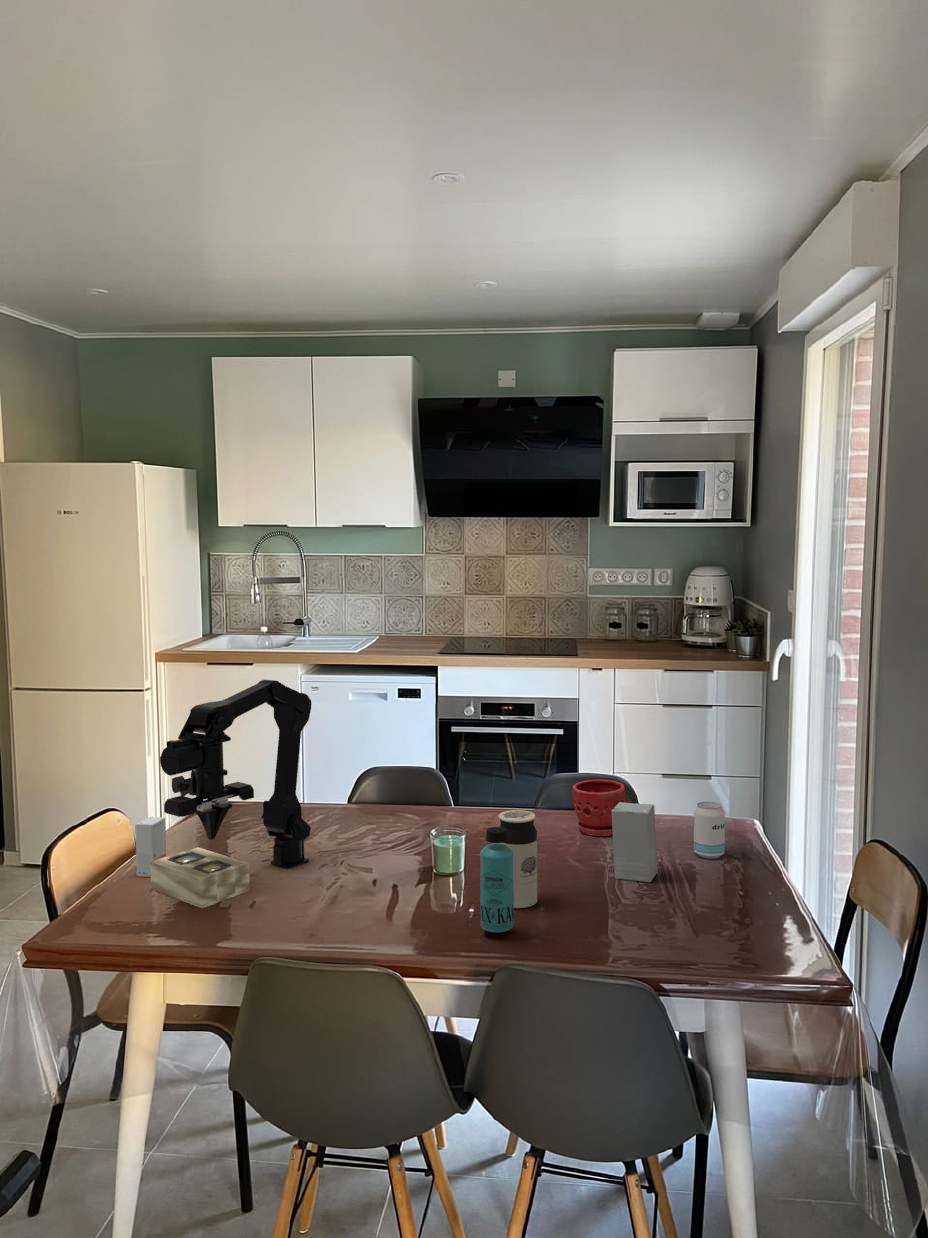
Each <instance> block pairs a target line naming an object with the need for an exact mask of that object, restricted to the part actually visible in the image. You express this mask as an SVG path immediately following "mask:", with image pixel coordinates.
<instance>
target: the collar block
mask: <svg viewBox="0 0 928 1238" xmlns="http://www.w3.org/2000/svg"><path fill="white" fill-rule="evenodd" d="M184 856H195V857H196V858H197V859H195V860H192V861H189V862H186V863H182V862H179V861H177V859H178V858H180V857H184ZM211 864H219V865H222V868H220V869H217V870H214V871H211V872H209V871H206V870H203V869H202V868H203V867H204V866H206V865H211ZM150 868H151V877H150V889H151V890H152V891H155V892H158V893H161V894H163V895H166V896H168V897H171V898H174V899H176V900H178V901H182V902H185V903H187V904H189V905H192V906H195V907H197V908H199V909H204V908H208V907H210V906H214V905H215V904H218V903H221V902H223V901H226V900H229V899H232V898H235V897H237V896H241V895H243V894H245V893H248V892H250V891H251V888H250V887H251V886H250V884H251V883H250V863H249V862H246V861H243V860H240V859H236V858H234V857H230V856H228V855H224V854H222V853H218V852H214V851H210V850H208V849H205V848H201V847H199V846H198V847H194V848H191V849H188V850H184V851H181V852H177V853H174V854H171V855H168V856H167V855H166V857H164V858H161V859H157V860H154V861H151V862H150Z"/></svg>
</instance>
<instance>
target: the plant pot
mask: <svg viewBox="0 0 928 1238" xmlns="http://www.w3.org/2000/svg"><path fill="white" fill-rule="evenodd" d="M625 787H626V786H625V785H624V784H623V783H622V782H620V781H616V780H610V779H588V780H583V781H578V782H577V783H575V784H574V785H573V786H572V802H573V808H574V811H575V812H574V813H575V814H576V817H577V819H578V822H577V824H576V825H577V828H578V830H579V831H581V832H582V833H583V834H586V835H588V836H589V835H590V836H593V837H594V836H597V837H608V836H609V837H610V836H613V828H612V810H613V809H614V807H615V806H616V805H617V804H618V803H619V802H623V803H626V789H625Z"/></svg>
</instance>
